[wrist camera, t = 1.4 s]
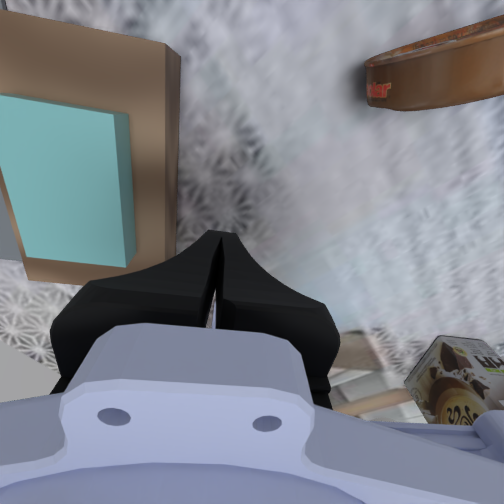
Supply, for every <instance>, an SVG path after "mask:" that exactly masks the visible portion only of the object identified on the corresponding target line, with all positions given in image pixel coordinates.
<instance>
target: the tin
mask: <svg viewBox="0 0 504 504" xmlns="http://www.w3.org/2000/svg"><path fill="white" fill-rule="evenodd" d="M364 65H365V67H366V80H367V102H368V105H369V106H371V107H377V108H386V109H391V110H395V111H419V110H427V109H436V108H443V107H449V106H455V105H460V104H466V103H470V102H475V101H479V100H484V99H488V98H492V97H496V96H500V95H504V15H501V16H498V17H494V18H491V19H488V20H485V21H482V22H479V23H476V24H472V25H469V26H466V27H463V28H460V29H456V30H453V31H450V32H447V33H444V34H440V35H437V36H434V37H431V38H427V39H424V40H421V41H418V42H415V43H412V44H409V45H406V46H403V47H399V48H397V49H394V50H391V51H388V52H385V53H382V54H380V55H377V56H374V57H372V58H370V59H368V60H366V61H365V63H364Z"/></svg>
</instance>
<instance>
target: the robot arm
mask: <svg viewBox="0 0 504 504" xmlns="http://www.w3.org/2000/svg"><path fill="white" fill-rule="evenodd" d="M215 288H216V300H215V304H214V312H213V321H212V329H210V328H206V324H207V320H208V316H209V312H210V308H211V304H212V300H213V296H214V292H215ZM50 339H51V344H52V348H53V351H54V354H55V358H56V361H57V364H58V368H59V371H60V375H61V378H60V379H59V381H58V382H57V384H56V385H55V387H54V389H53V390H52V392H51V393H50V395H45V396H39V397H32V398H27V399H21V400H14V401H8V402H2V403H0V504H504V410H490V411H487V412H485V413H483V414H481V415H480V416H479V417H478V418H477V419H476V420H475V421H474V423H473V425H472V426H466V425H445V424H424V423H403V422H382V421H366V420H363V419H359V418H356V417H353V416H350V415H347V414H343V413H340V412H337V411H334V410H333V409H332V406H331V402H330V399H329V396H328V393H330V391H331V386H330V383H329V380H328V377H327V375H328V373H329V371H330V368H331V366H332V364H333V362H334V360H335V358H336V356H337V353H338V350H339V347H340V335H339V332H338V330H337V328H336V326H335V323H334V321H333V319H332V316H331V315H330V313H329V311H328V309H327V307H326V305H325V304H323V303H321V302H318V301H316V300H314V299H311V298H309V297H307V296H304V295H302V294H300V293H298V292H296V291H294V290H293V289H291V288H289V287H287V286H286V285H284V284H282V283H281V282H280V281H278V280H277V279H275V278H274V277H272V276H271V275H270V274H269V273H267V272H266V271H265V270H264V269H263V268H262V267H261V266H260V265H259V264H258V263H257V262H256V261H255V260H254V259H253V258H252V257H251V255H250V254H249V253H248V251H247V250H246V248H245V247H244V245H243V244H242V242H241V241H240V239H239V237H238V235H237V234H236V233H229V232H222V231H214V230H208V231H207V232H205V233H204V234H203V235H202V236H201V237H200V238H199V239H198V240H197V241H196V242H194V243H193V244H192V245H191V246H190V247H188V248H187V249H185V250H184V251H182V252H181V253H179V254H178V255H176V256H174V257H172V258H170V259H168V260H166V261H164V262H162V263H159V264H157V265H154V266H151V267H149V268H146V269H143V270H140V271H136V272H132V273H128V274H124V275H120V276H115V277H109V278H103V279H97V280H90V281H88V282H87V283H86V284H85V285H84V286H83V287H82V288H81V289H80V290H79V291H78V293H77V294H76V295H75V296H74V297H73V298H72V300H71V301H70V302H69V303H68V304H67V305H66V307H65V308H64V309H63V310H62V311H61V312H60V314H59V315H58V316H57V317H56V318H55V319H54V321H53V323H52V326H51V329H50Z"/></svg>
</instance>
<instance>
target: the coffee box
mask: <svg viewBox="0 0 504 504" xmlns="http://www.w3.org/2000/svg"><path fill="white" fill-rule="evenodd" d="M404 384H405V386H406V387H407V389H408V391H409V392H410V394H411V396H412V397H413V399H414V401H415V402H416V404H417V406H418V407H419V409H420V411H421V413H422V414H423V416H424V418H425V419H426V421H427V422H428V424H445V425H466V426H472V425H473V423H474V421H475V420H476V419H477V418H478V417H479V416H480V415H481V414H483V413H485V412H487V411H490V410H504V360H503V359H502V358H501V357H500V356H499V355H498V354H497V353H496V352H495V351H494V350H493V349H492V348H491V347H490V346H489V345H488V344H487V343H485V342H484V341H480V340H471V339H463V338H455V337H446V336H439V337H438V338H437V339H436V340H435V342H434V343H433V345H432V346H431V347H430V349H429V350H428V351H427V353H426V354H425V355H424V357H423V358H422V359H421V361H420V362H419V363H418V365H417V366H416V367H415V369H414V370H413V371H412V373H411V374H410V375H409V377H408V378H407V379H406V381H405V382H404Z"/></svg>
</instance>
